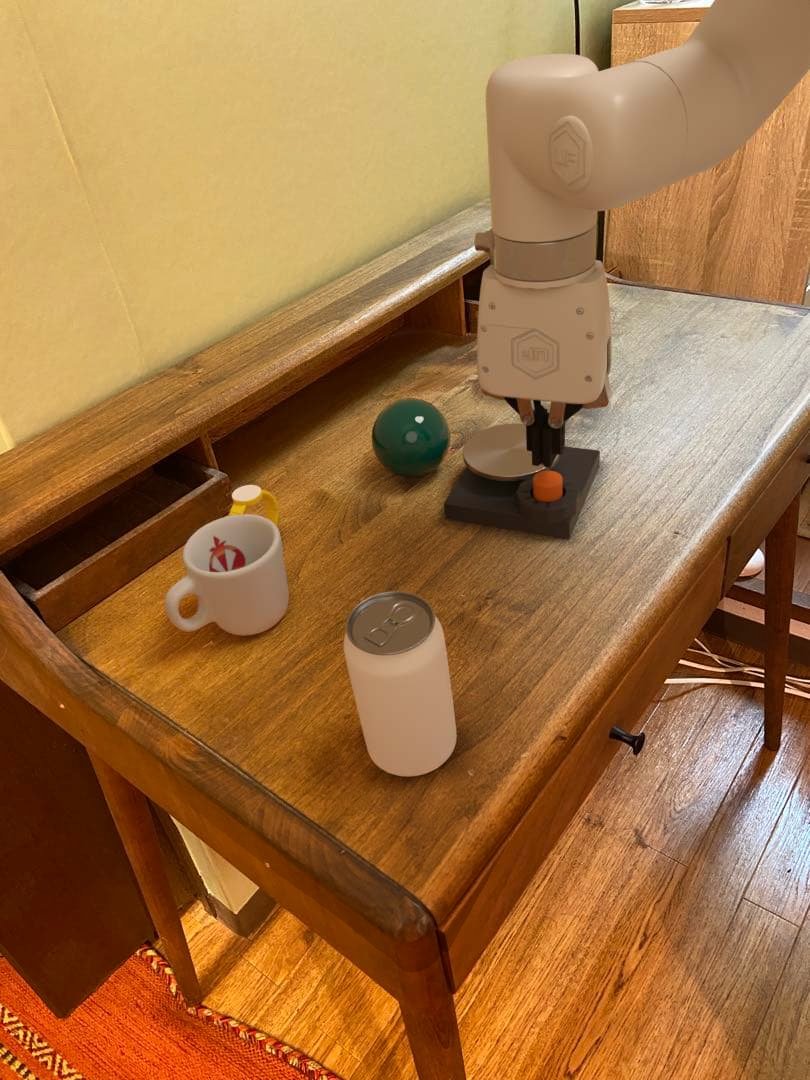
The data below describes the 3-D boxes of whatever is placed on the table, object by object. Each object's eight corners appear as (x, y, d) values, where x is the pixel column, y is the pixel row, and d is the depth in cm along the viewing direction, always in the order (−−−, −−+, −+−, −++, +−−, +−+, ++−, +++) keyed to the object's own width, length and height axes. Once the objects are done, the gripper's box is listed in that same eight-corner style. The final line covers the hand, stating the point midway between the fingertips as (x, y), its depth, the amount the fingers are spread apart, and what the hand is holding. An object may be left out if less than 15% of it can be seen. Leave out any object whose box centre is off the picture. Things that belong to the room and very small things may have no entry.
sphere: (363, 469, 87) (351, 403, 82) (425, 441, 90) (417, 375, 85) (403, 503, 81) (393, 434, 76) (469, 472, 84) (463, 403, 79)
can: (475, 732, 58) (462, 610, 51) (418, 797, 55) (395, 675, 47) (406, 693, 62) (385, 573, 55) (348, 750, 58) (317, 631, 51)
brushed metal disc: (571, 433, 81) (571, 428, 81) (546, 487, 74) (546, 482, 74) (481, 423, 84) (481, 418, 84) (449, 474, 78) (448, 469, 78)
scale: (602, 466, 82) (603, 436, 80) (570, 544, 73) (570, 513, 71) (485, 452, 87) (483, 423, 84) (442, 524, 78) (438, 494, 76)
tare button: (565, 488, 75) (565, 472, 74) (558, 504, 73) (558, 488, 72) (537, 484, 76) (537, 468, 75) (529, 500, 74) (529, 484, 73)
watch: (253, 566, 76) (237, 515, 73) (229, 559, 77) (213, 509, 74) (289, 528, 80) (276, 478, 76) (267, 523, 81) (252, 473, 78)
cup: (209, 682, 65) (180, 609, 60) (163, 634, 70) (132, 563, 65) (317, 611, 70) (298, 538, 65) (266, 571, 75) (245, 501, 70)
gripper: (431, 265, 61) (451, 470, 72) (637, 274, 55) (623, 495, 67) (465, 230, 66) (479, 426, 77) (657, 234, 60) (641, 445, 72)
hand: (545, 457), depth 72 cm, fingers closed
